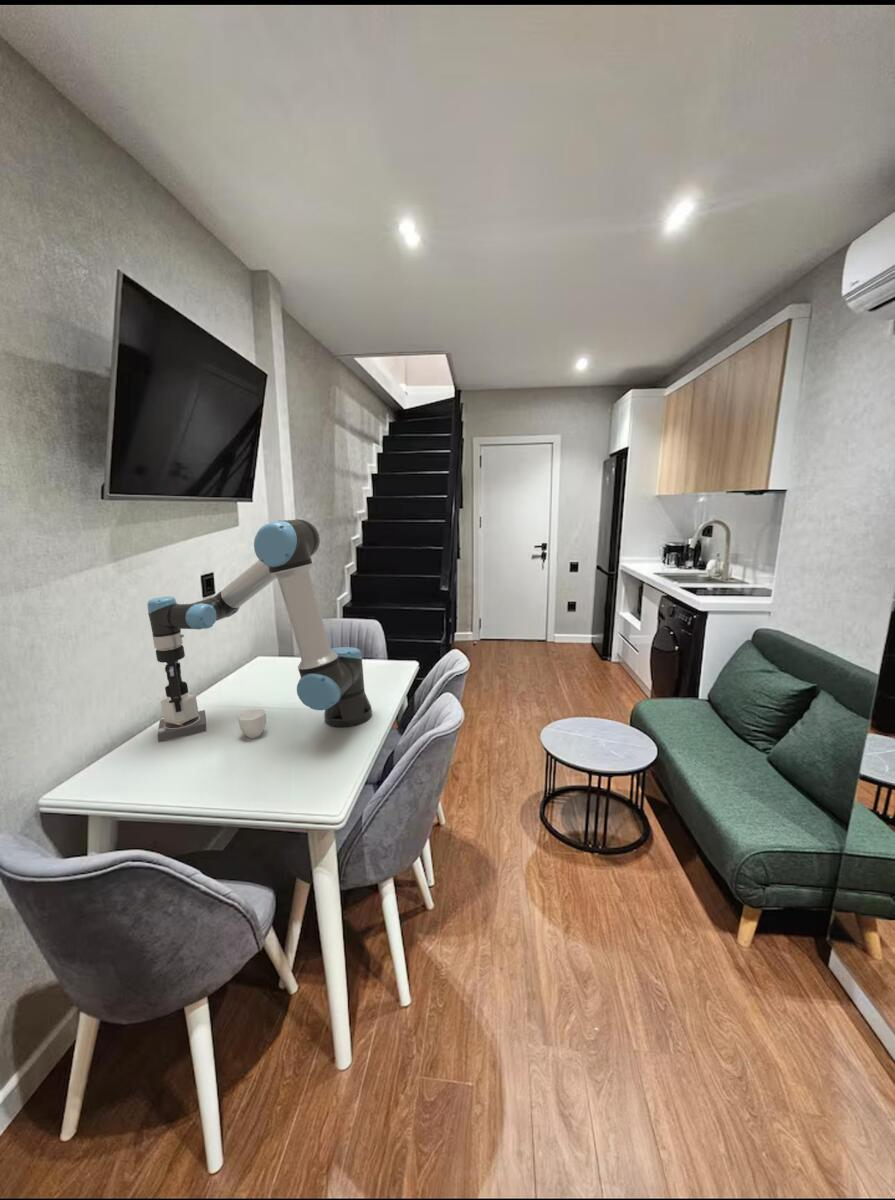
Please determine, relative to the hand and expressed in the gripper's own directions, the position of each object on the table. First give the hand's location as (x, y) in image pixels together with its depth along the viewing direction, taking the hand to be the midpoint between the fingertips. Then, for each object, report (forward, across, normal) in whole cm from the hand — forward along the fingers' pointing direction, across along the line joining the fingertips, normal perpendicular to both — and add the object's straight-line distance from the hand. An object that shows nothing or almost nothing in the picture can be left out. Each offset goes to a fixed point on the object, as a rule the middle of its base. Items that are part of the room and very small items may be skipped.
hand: (181, 714), depth 150 cm
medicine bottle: (+2, 0, 0) cm, 2 cm away
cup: (+5, -16, -20) cm, 26 cm away
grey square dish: (+5, 0, 0) cm, 5 cm away
